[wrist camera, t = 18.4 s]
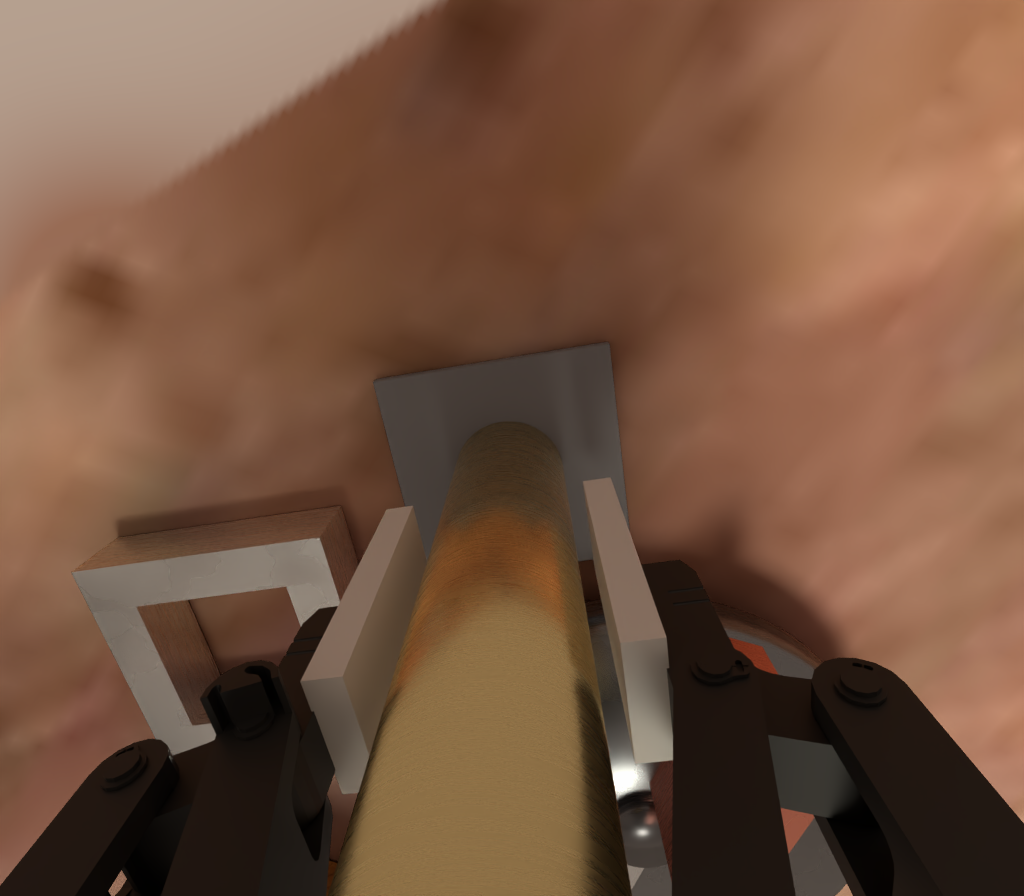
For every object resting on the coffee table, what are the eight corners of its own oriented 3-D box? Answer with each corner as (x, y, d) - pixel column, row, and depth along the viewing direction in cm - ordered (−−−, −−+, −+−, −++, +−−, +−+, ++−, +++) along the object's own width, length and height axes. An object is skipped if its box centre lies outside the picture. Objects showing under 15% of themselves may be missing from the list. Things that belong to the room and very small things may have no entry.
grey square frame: (199, 715, 25) (167, 762, 23) (117, 537, 22) (71, 572, 20) (397, 691, 24) (384, 738, 22) (341, 505, 21) (319, 537, 19)
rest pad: (426, 575, 22) (424, 581, 22) (375, 379, 20) (372, 382, 19) (630, 548, 22) (632, 554, 21) (607, 341, 19) (609, 343, 19)
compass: (740, 948, 28) (806, 1169, 21) (379, 866, 26) (330, 1077, 20) (945, 667, 22) (1128, 856, 15) (489, 539, 20) (472, 687, 14)
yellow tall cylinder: (467, 525, 21) (352, 1104, 7) (446, 429, 20) (257, 907, 6) (569, 512, 21) (659, 1087, 7) (555, 414, 20) (633, 876, 6)
